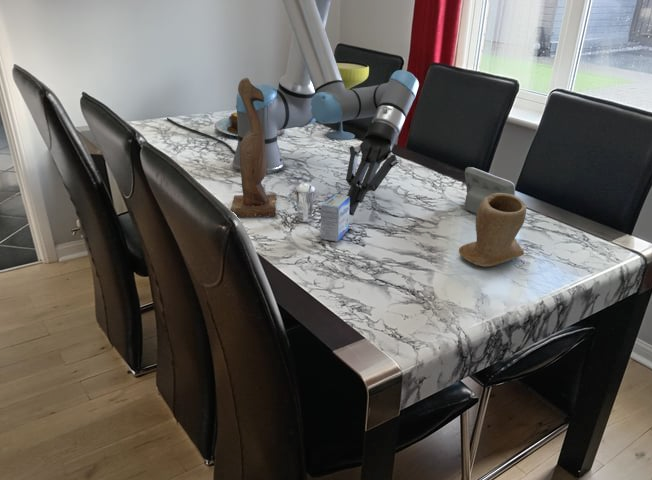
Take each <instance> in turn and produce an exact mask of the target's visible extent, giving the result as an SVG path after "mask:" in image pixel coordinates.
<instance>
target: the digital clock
mask: <svg viewBox="0 0 652 480" xmlns="http://www.w3.org/2000/svg"><path fill="white" fill-rule="evenodd" d="M464 177H465V178H464V179H465V184H466V185H465V187H466V196H465V201H464V208H463V209H464V210H466V211H468V212H471V213H473V214H475V215H477V212H478V209H479V206H480V203H481V202H482V200H483V199H484V198H486V197H488V196H489V195H491V194H495V193H507V194H511V195H514V196H516V189H515V188H516V186H515V183H514V182H513V181H511V180H509V179H505V178H503V177H500V176H497V175H495V174H492V173H489V172H486V171H484V170H481V169H478V168H475V167H471V166H467V167H466V168H465V170H464Z"/></svg>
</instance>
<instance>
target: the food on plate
mask: <svg viewBox="0 0 652 480" xmlns="http://www.w3.org/2000/svg"><path fill="white" fill-rule="evenodd" d="M214 129H216V130H217V131H219V132H220V133H223V134H226V135H231V136H232V137H233V136H235V137H238V126H237V112H233V113H231V115H230V116H226V117H223V118H220V119H219V120H217V121H216V122H215V124H214ZM283 130H284V129H282V130H277V134H278V133H280V132H281V131H283ZM281 137H282V135H281Z"/></svg>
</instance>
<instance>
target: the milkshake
mask: <svg viewBox="0 0 652 480" xmlns="http://www.w3.org/2000/svg"><path fill="white" fill-rule="evenodd" d="M315 191H316V189H315V187H314V186H313V184H310V183H301V184H298V185H297V186H295V195H296V196H295V197H296V208H297V209H296V210H297V220H298V221H299V222H300V223H309V222H312V218H313V208H314V199H315V198H314V197H315Z"/></svg>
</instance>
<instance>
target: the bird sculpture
mask: <svg viewBox="0 0 652 480" xmlns="http://www.w3.org/2000/svg"><path fill="white" fill-rule="evenodd" d="M238 92H239V94H240V96H241V98H242V101H243V103H244V106H245V109H246V112H247V115H248V119H249V122H250V128H251V130H250V131H249V132H248V133H247V134H246V135H245V137H244V138H243V140H242V141H241V144H240V149H239V150H240V169H241V172H240V178H241V188H242V194H240V195H238V194H237V195H236V194H235V195H233V199H232V204H231V207H230V212H231V211H232V212H234V213H235V214H236V215H237V218H238V217H239V218H243V219H244V218H245V217H246V218H247V217H248V218H252V217H253V218H264V217H265V218H267V217H276V215H277V212H276V211H277V210H276V209H277V201H278V195H277V193H276V194H275V193H273V194H267V192H266V191H265V189H264V186H263V184H262V181H263V180H264V179H265V177H266V175H267V174H266V156H265V153H266V152H265V151H266V150H265V139H264V131H263V127H262V124H261V121H260V119H259V116H258V114H257V112H256V109H255V107H254V104H253V101H260V102H264V97H263V93H262V91H261V90H259V89H258V88H256V87H255V85H253V84H252V83H251V80H250V79H249V78H248V77H244V78H242V79H240V81H239V83H238V86H237V93H238Z"/></svg>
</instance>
